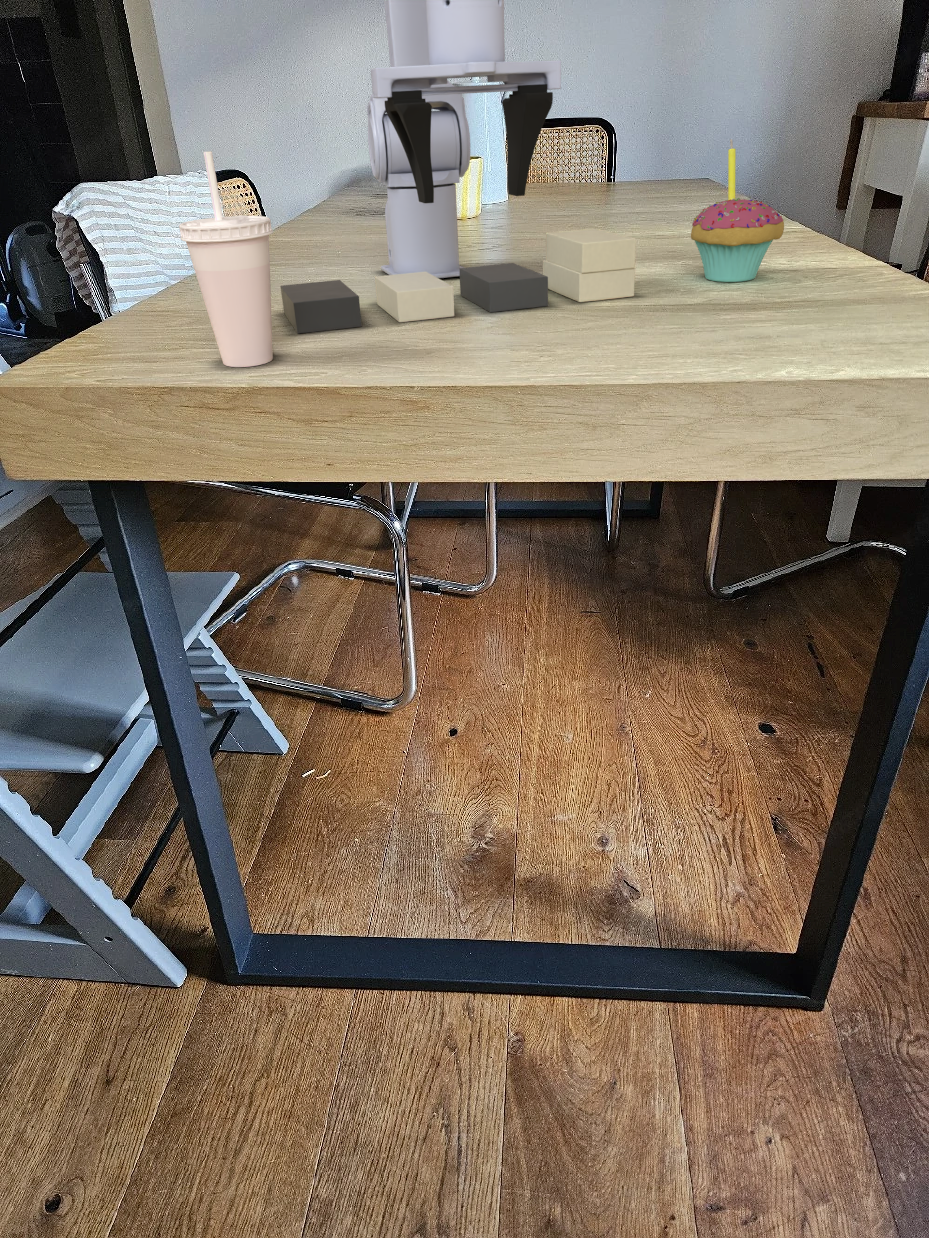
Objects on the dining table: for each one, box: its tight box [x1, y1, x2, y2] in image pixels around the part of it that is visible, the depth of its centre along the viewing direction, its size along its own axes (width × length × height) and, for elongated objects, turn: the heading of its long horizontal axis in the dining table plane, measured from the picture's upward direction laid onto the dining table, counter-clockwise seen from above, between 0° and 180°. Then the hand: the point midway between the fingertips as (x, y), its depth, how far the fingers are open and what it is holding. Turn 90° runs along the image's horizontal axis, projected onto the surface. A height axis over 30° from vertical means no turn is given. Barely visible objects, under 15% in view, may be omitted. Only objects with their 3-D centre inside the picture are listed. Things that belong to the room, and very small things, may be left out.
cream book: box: [374, 272, 455, 323], centre depth 80 cm, size 9×5×2 cm, turn 17°
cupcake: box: [690, 138, 785, 283], centre depth 84 cm, size 9×8×12 cm
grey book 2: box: [459, 262, 549, 313], centre depth 82 cm, size 9×6×2 cm, turn 17°
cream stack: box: [542, 227, 637, 303], centre depth 83 cm, size 9×6×5 cm, turn 17°
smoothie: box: [178, 150, 274, 368], centre depth 63 cm, size 6×6×14 cm
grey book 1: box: [279, 279, 363, 335], centre depth 78 cm, size 9×6×2 cm, turn 17°
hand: (471, 198), depth 71 cm, fingers open, 7 cm apart
